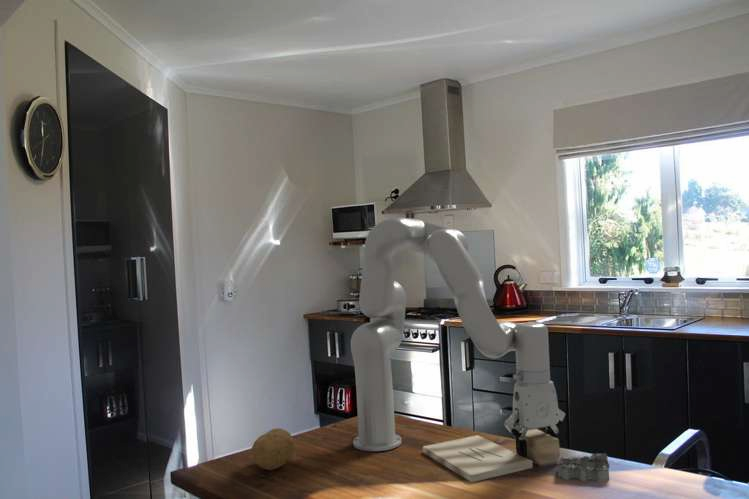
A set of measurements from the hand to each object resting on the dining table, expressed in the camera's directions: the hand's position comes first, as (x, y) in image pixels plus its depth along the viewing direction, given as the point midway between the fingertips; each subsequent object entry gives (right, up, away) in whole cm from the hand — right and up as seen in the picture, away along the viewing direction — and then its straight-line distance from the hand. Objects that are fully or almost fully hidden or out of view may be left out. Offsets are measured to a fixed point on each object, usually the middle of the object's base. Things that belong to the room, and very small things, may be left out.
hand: (536, 452), depth 137 cm
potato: (-62, -5, +4) cm, 62 cm away
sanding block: (+1, -2, 0) cm, 2 cm away
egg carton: (+7, -2, -11) cm, 13 cm away
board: (-14, -2, +2) cm, 14 cm away
